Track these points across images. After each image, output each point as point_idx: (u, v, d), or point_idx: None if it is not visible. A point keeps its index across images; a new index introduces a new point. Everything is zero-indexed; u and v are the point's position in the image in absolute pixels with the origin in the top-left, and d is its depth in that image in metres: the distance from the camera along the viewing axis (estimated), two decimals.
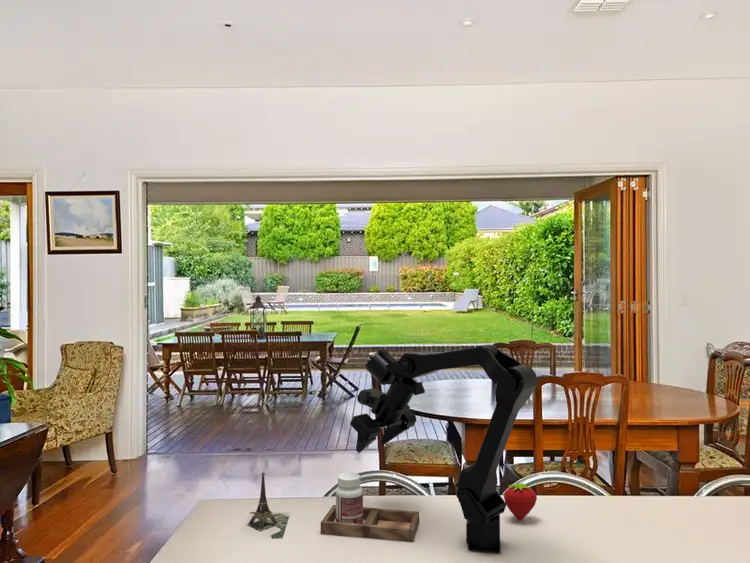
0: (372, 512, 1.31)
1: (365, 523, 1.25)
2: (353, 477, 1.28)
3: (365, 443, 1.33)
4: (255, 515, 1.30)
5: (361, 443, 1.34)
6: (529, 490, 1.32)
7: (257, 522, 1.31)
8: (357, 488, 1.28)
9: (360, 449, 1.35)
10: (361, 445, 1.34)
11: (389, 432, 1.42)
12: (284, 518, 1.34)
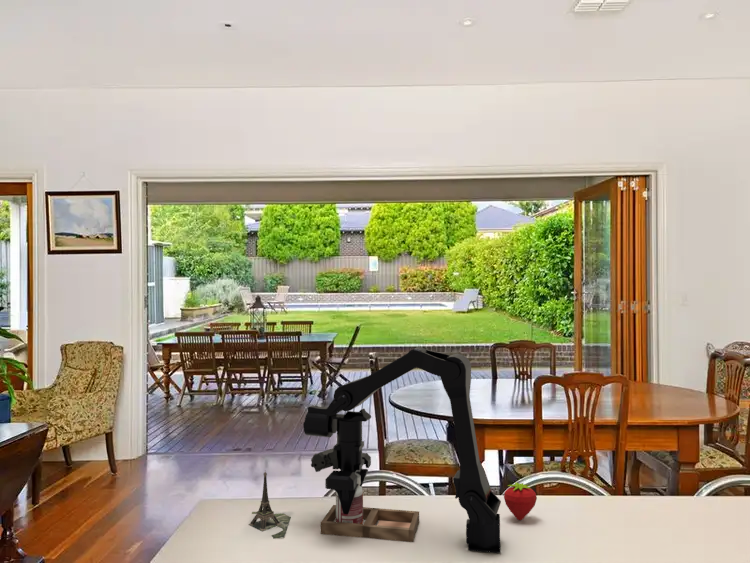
0: (372, 512, 1.31)
1: (365, 523, 1.25)
2: None
3: (351, 496, 1.25)
4: (257, 515, 1.30)
5: (346, 500, 1.25)
6: (529, 490, 1.32)
7: (259, 522, 1.32)
8: (357, 488, 1.28)
9: (348, 508, 1.26)
10: (347, 503, 1.25)
11: None
12: (286, 518, 1.34)
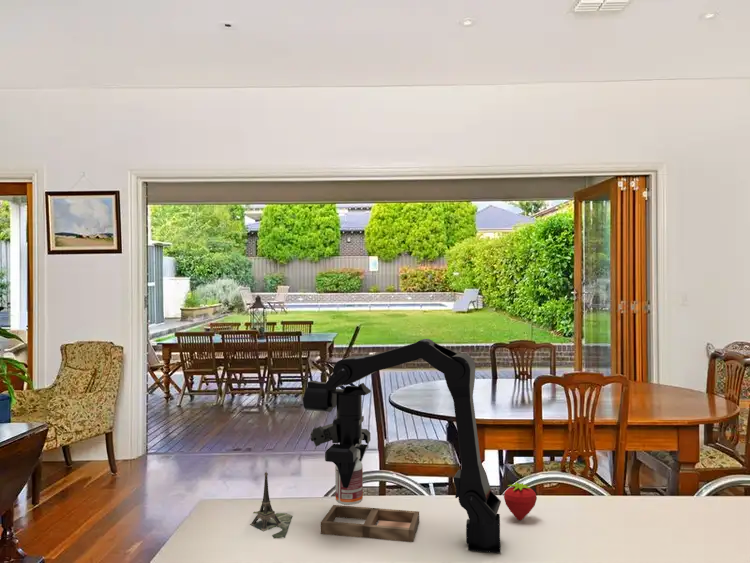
0: (372, 512, 1.31)
1: (365, 523, 1.25)
2: None
3: (351, 469, 1.25)
4: (258, 515, 1.30)
5: (346, 474, 1.25)
6: (529, 490, 1.32)
7: (260, 522, 1.32)
8: (357, 462, 1.28)
9: (348, 481, 1.26)
10: (347, 476, 1.25)
11: None
12: (288, 518, 1.34)
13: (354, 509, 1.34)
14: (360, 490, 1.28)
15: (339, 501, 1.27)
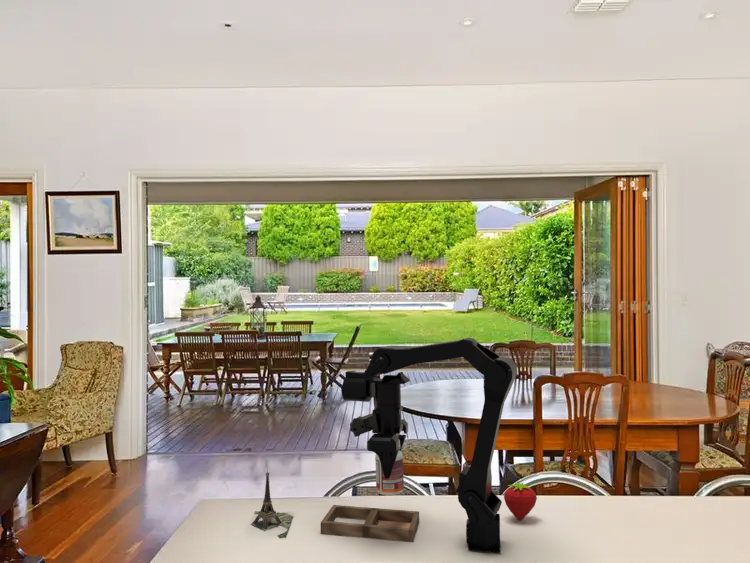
0: (372, 512, 1.31)
1: (365, 523, 1.25)
2: None
3: (392, 459, 1.23)
4: (259, 515, 1.30)
5: (388, 464, 1.23)
6: (529, 490, 1.32)
7: (261, 522, 1.32)
8: None
9: (389, 472, 1.24)
10: (389, 466, 1.23)
11: None
12: (289, 518, 1.34)
13: (354, 509, 1.34)
14: (401, 480, 1.26)
15: (381, 492, 1.25)
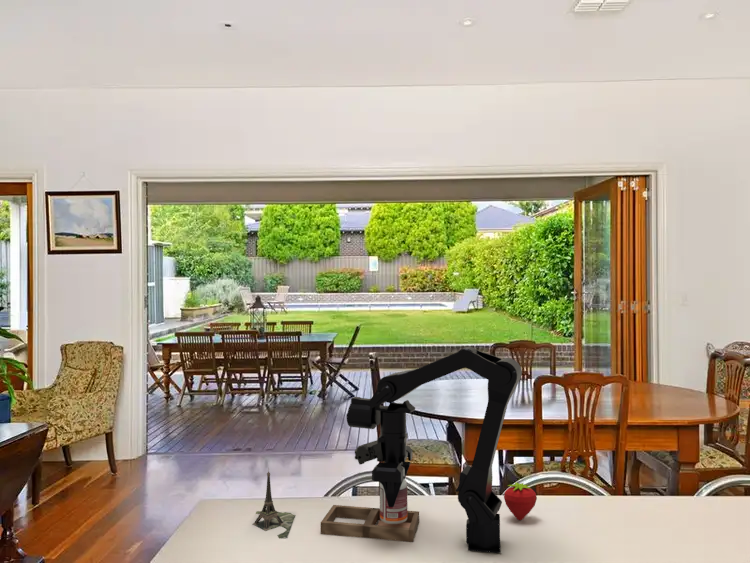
0: (372, 512, 1.31)
1: (365, 523, 1.25)
2: None
3: (397, 489, 1.23)
4: (261, 514, 1.30)
5: (392, 493, 1.23)
6: (529, 490, 1.32)
7: (263, 521, 1.32)
8: None
9: (393, 501, 1.24)
10: (393, 495, 1.23)
11: None
12: (290, 517, 1.34)
13: (354, 509, 1.34)
14: (405, 509, 1.26)
15: (384, 521, 1.25)
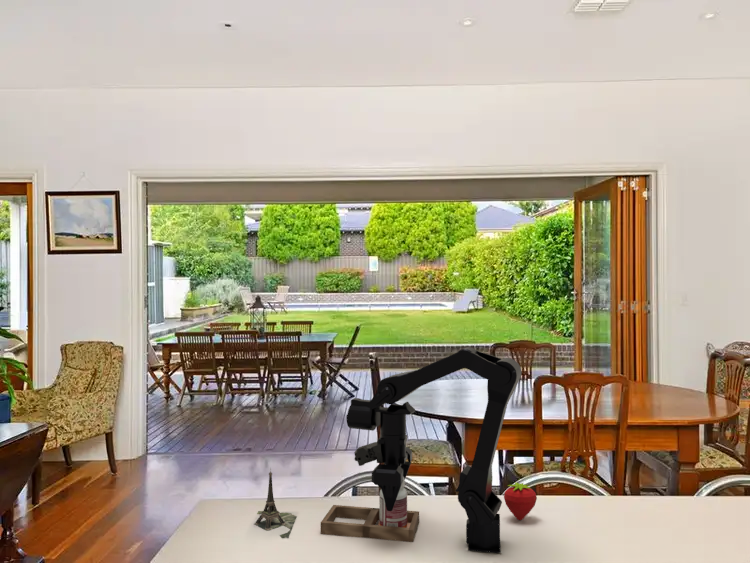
0: (372, 512, 1.31)
1: (365, 523, 1.25)
2: None
3: (395, 492, 1.21)
4: (262, 514, 1.30)
5: (390, 497, 1.22)
6: (529, 490, 1.32)
7: (264, 521, 1.32)
8: (401, 490, 1.26)
9: (392, 505, 1.22)
10: (391, 499, 1.22)
11: None
12: (292, 518, 1.34)
13: (354, 509, 1.34)
14: (405, 518, 1.26)
15: None
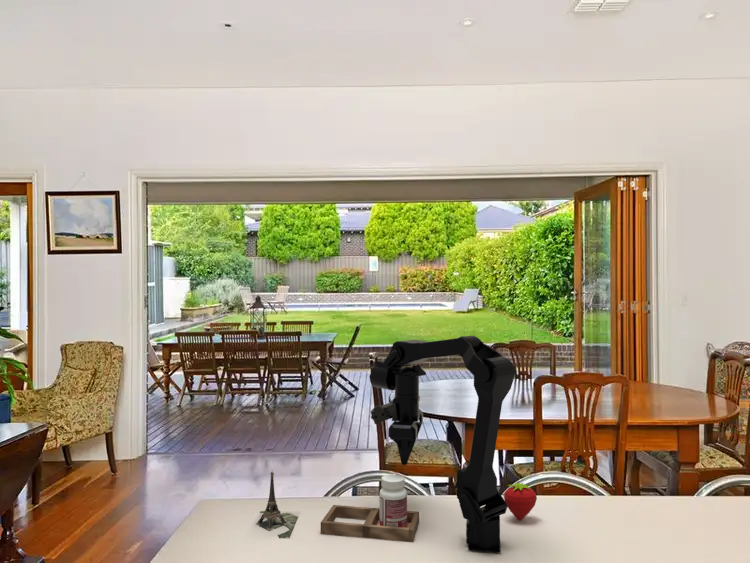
0: (372, 512, 1.31)
1: (365, 523, 1.25)
2: (398, 479, 1.26)
3: (410, 447, 1.30)
4: (264, 514, 1.30)
5: (405, 451, 1.31)
6: (529, 490, 1.32)
7: (266, 521, 1.32)
8: (401, 490, 1.26)
9: (406, 459, 1.31)
10: (406, 453, 1.31)
11: None
12: (293, 518, 1.34)
13: (354, 509, 1.34)
14: (405, 518, 1.26)
15: None
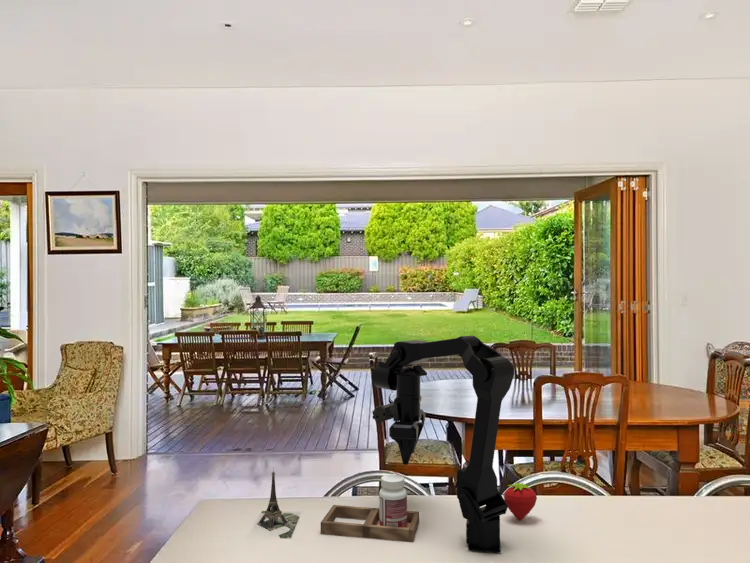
0: (372, 512, 1.31)
1: (365, 523, 1.25)
2: (397, 479, 1.26)
3: (411, 447, 1.31)
4: (265, 514, 1.31)
5: (406, 451, 1.31)
6: (529, 490, 1.32)
7: (267, 521, 1.32)
8: (401, 490, 1.26)
9: (408, 458, 1.32)
10: (407, 453, 1.31)
11: None
12: (295, 518, 1.34)
13: (354, 509, 1.34)
14: (405, 518, 1.26)
15: None
